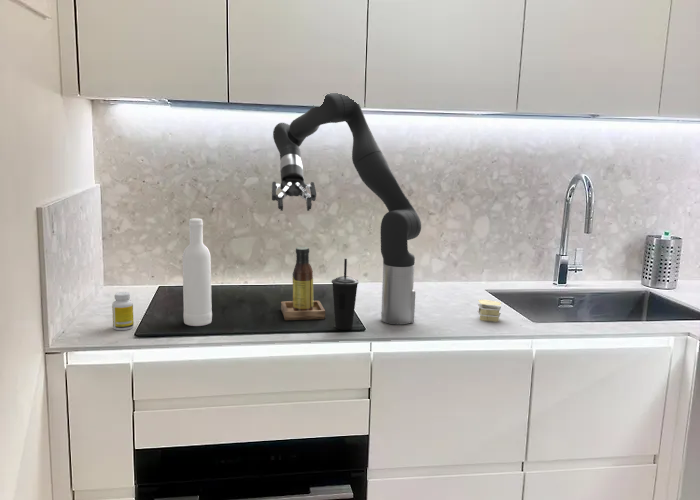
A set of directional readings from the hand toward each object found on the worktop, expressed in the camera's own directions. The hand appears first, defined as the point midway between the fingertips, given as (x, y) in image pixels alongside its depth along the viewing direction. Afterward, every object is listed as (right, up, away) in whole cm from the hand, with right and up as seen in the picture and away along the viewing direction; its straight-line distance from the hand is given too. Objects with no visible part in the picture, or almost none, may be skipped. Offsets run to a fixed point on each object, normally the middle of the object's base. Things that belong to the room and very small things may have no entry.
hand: (295, 209), depth 199 cm
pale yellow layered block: (+60, -35, -7) cm, 69 cm away
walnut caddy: (+3, -33, -8) cm, 34 cm away
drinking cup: (+16, -35, -20) cm, 44 cm away
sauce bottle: (+3, -32, -8) cm, 33 cm away
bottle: (-27, -34, -18) cm, 47 cm away
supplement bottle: (-46, -35, -25) cm, 63 cm away
